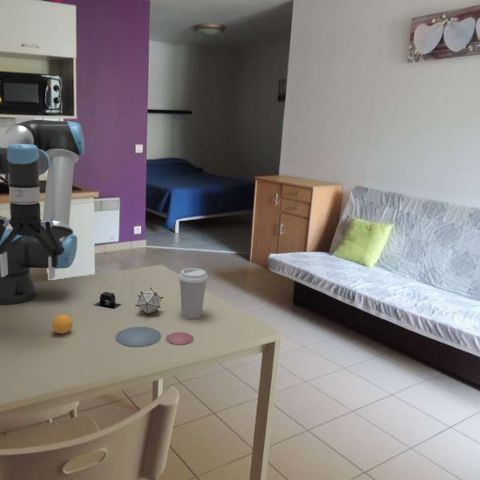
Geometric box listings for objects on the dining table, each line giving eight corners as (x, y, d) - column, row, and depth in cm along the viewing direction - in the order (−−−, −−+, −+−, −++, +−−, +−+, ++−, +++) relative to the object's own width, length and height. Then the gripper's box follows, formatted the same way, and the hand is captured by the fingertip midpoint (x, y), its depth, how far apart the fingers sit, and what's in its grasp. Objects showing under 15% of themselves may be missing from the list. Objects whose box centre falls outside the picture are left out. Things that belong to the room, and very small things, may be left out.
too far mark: (164, 344, 136) (164, 343, 136) (167, 332, 143) (167, 331, 143) (192, 345, 136) (192, 345, 136) (194, 333, 144) (194, 333, 144)
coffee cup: (199, 308, 163) (201, 266, 160) (210, 318, 155) (212, 275, 152) (173, 311, 159) (174, 268, 156) (183, 322, 151) (184, 277, 147)
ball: (49, 336, 136) (49, 318, 135) (56, 328, 141) (56, 311, 140) (69, 337, 136) (68, 319, 135) (75, 329, 141) (74, 312, 140)
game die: (147, 321, 159) (151, 292, 163) (166, 318, 155) (170, 289, 159) (127, 314, 153) (132, 284, 157) (146, 311, 148) (151, 281, 152)
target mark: (110, 345, 133) (110, 344, 133) (121, 326, 145) (121, 325, 145) (157, 348, 133) (157, 347, 133) (163, 328, 146) (163, 327, 146)
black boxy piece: (129, 306, 163) (129, 293, 162) (117, 313, 156) (117, 300, 155) (97, 300, 167) (97, 287, 165) (85, 307, 160) (84, 294, 159)
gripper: (-29, 201, 125) (-23, 278, 130) (66, 206, 126) (68, 283, 131) (-15, 197, 133) (-10, 270, 138) (75, 202, 134) (76, 274, 139)
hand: (28, 276), depth 135 cm, fingers open, 12 cm apart
